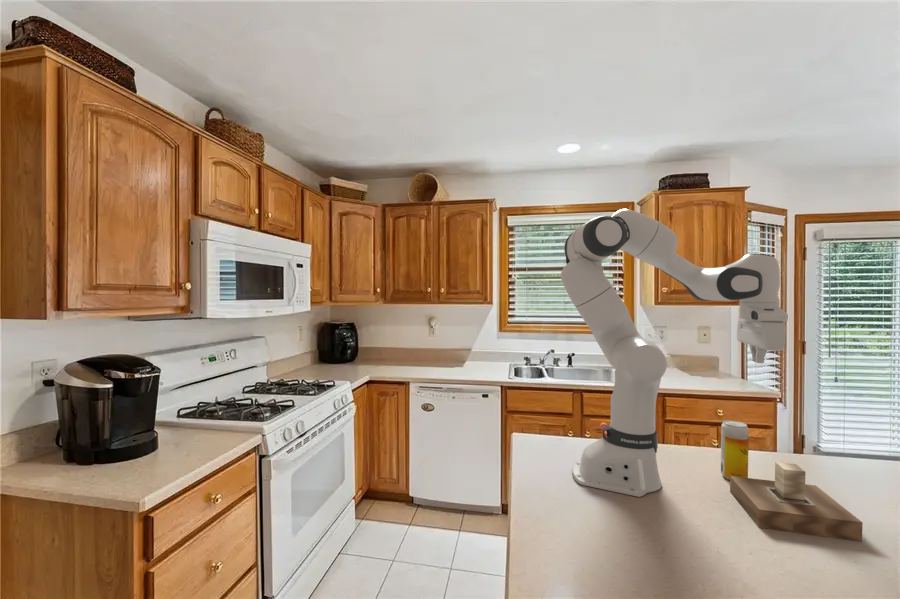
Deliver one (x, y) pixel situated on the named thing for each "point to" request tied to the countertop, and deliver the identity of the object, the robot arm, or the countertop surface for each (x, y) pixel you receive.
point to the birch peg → (789, 482)
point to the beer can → (734, 449)
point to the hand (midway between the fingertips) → (758, 362)
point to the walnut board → (795, 510)
